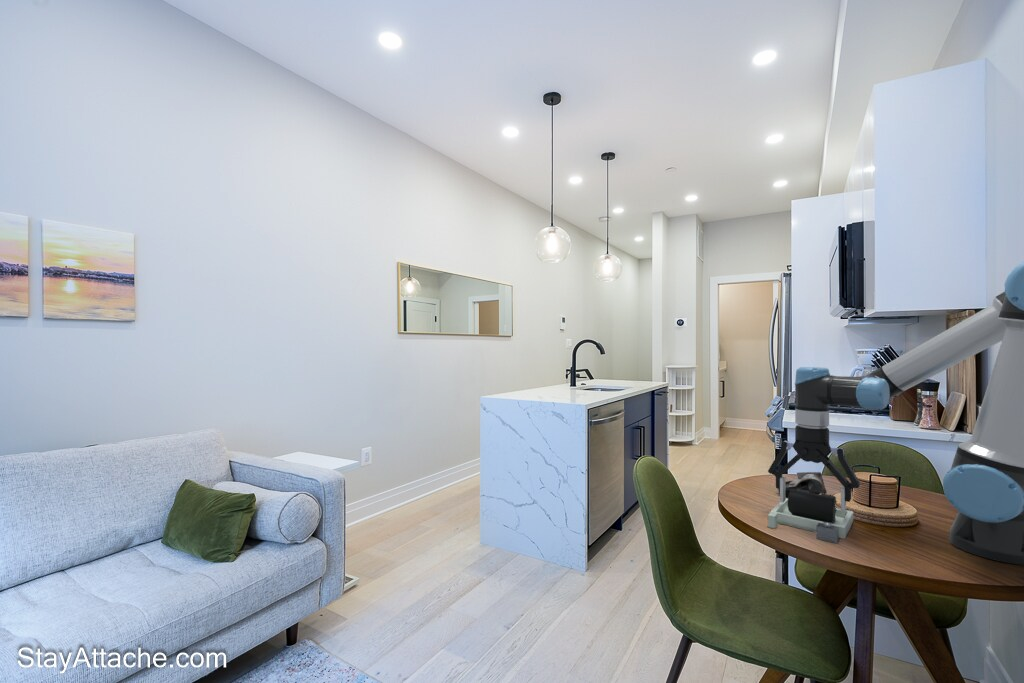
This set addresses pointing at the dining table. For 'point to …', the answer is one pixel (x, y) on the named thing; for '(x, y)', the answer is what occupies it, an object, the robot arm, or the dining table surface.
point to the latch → (827, 532)
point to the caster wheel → (807, 483)
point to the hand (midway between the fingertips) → (811, 507)
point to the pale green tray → (807, 519)
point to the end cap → (812, 505)
